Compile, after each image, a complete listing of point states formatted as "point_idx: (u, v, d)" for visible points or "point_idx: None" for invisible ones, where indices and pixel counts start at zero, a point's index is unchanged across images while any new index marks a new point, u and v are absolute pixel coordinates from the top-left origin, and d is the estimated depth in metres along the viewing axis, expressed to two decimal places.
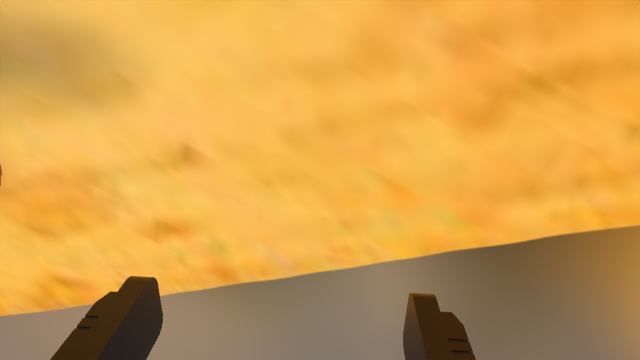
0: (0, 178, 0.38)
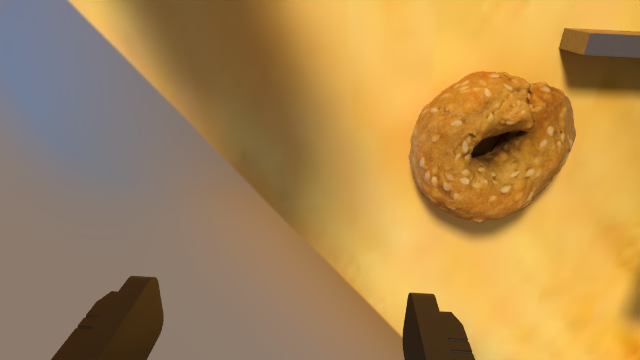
0: None
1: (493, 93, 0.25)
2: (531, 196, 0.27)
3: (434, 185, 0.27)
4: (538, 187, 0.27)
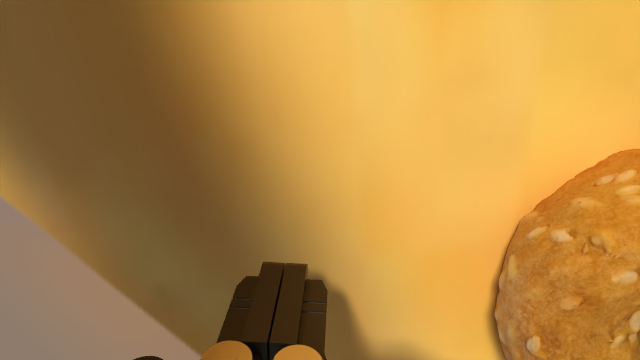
0: None
1: None
2: None
3: None
4: None
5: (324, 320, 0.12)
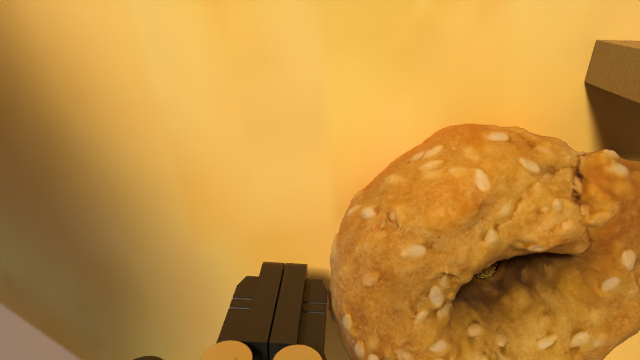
0: None
1: (495, 183, 0.11)
2: None
3: None
4: None
5: (324, 320, 0.12)
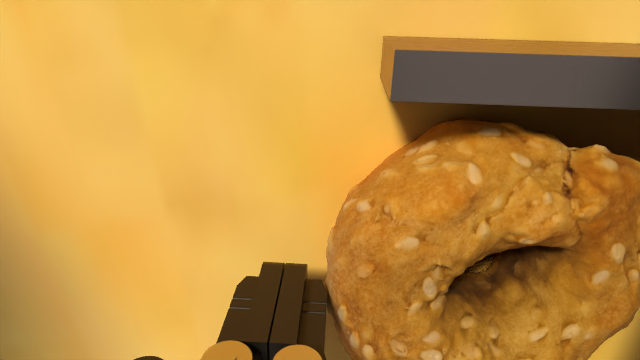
0: None
1: (488, 176, 0.11)
2: None
3: None
4: (588, 356, 0.13)
5: (324, 320, 0.12)
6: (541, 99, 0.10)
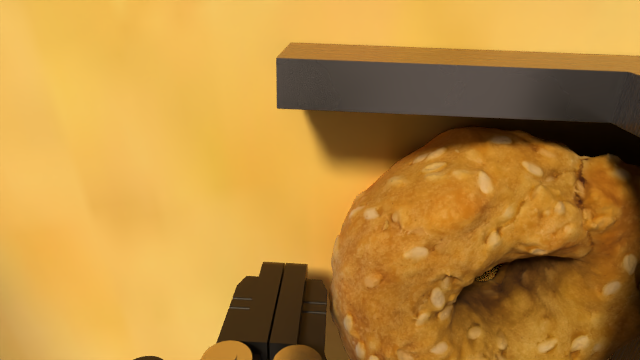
0: None
1: (498, 185, 0.11)
2: None
3: None
4: None
5: (324, 320, 0.12)
6: (425, 108, 0.10)
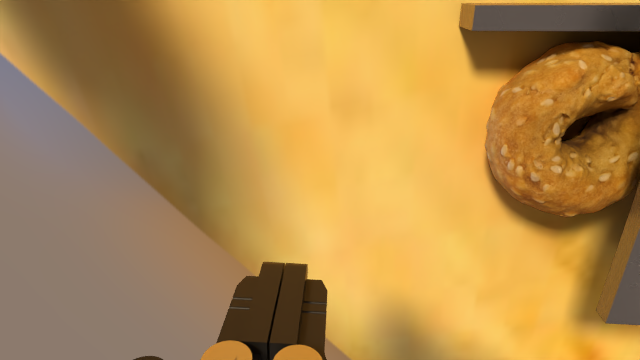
0: None
1: (590, 65, 0.22)
2: (634, 184, 0.23)
3: (519, 176, 0.23)
4: None
5: (324, 320, 0.12)
6: (545, 27, 0.21)
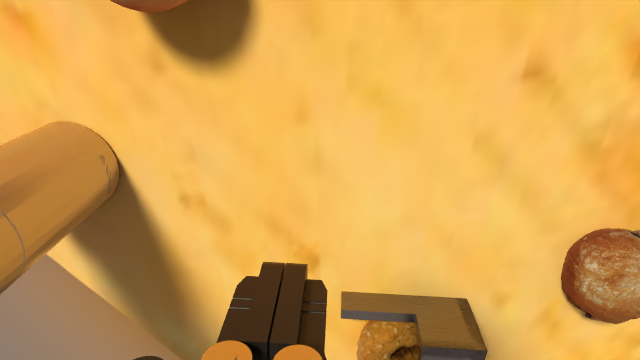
0: (611, 229, 0.42)
1: (398, 331, 0.46)
2: None
3: None
4: None
5: (324, 320, 0.12)
6: (373, 319, 0.46)
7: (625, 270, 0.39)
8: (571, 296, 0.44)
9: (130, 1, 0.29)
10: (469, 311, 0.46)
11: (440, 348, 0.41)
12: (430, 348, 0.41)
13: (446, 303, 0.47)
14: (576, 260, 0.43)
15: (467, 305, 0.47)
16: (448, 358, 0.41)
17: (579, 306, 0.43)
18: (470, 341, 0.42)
